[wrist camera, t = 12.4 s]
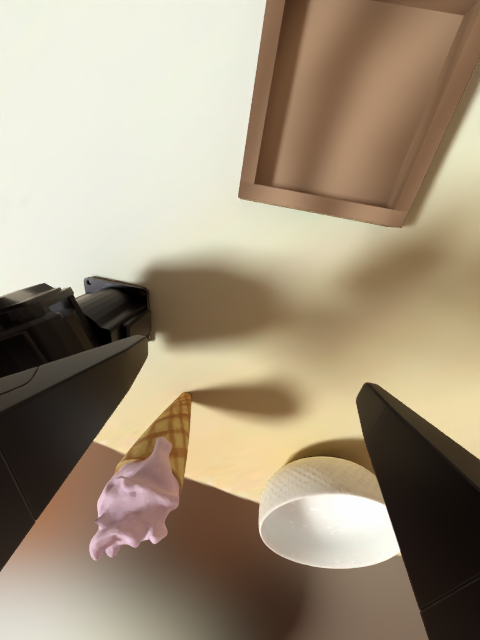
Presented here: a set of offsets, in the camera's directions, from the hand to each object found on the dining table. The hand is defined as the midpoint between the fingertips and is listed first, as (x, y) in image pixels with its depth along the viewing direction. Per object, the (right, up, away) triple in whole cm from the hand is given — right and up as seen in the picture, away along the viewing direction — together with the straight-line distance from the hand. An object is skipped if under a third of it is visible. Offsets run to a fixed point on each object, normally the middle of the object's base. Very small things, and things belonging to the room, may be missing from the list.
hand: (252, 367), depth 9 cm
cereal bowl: (+11, -20, +23) cm, 32 cm away
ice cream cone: (-7, -7, +19) cm, 22 cm away
